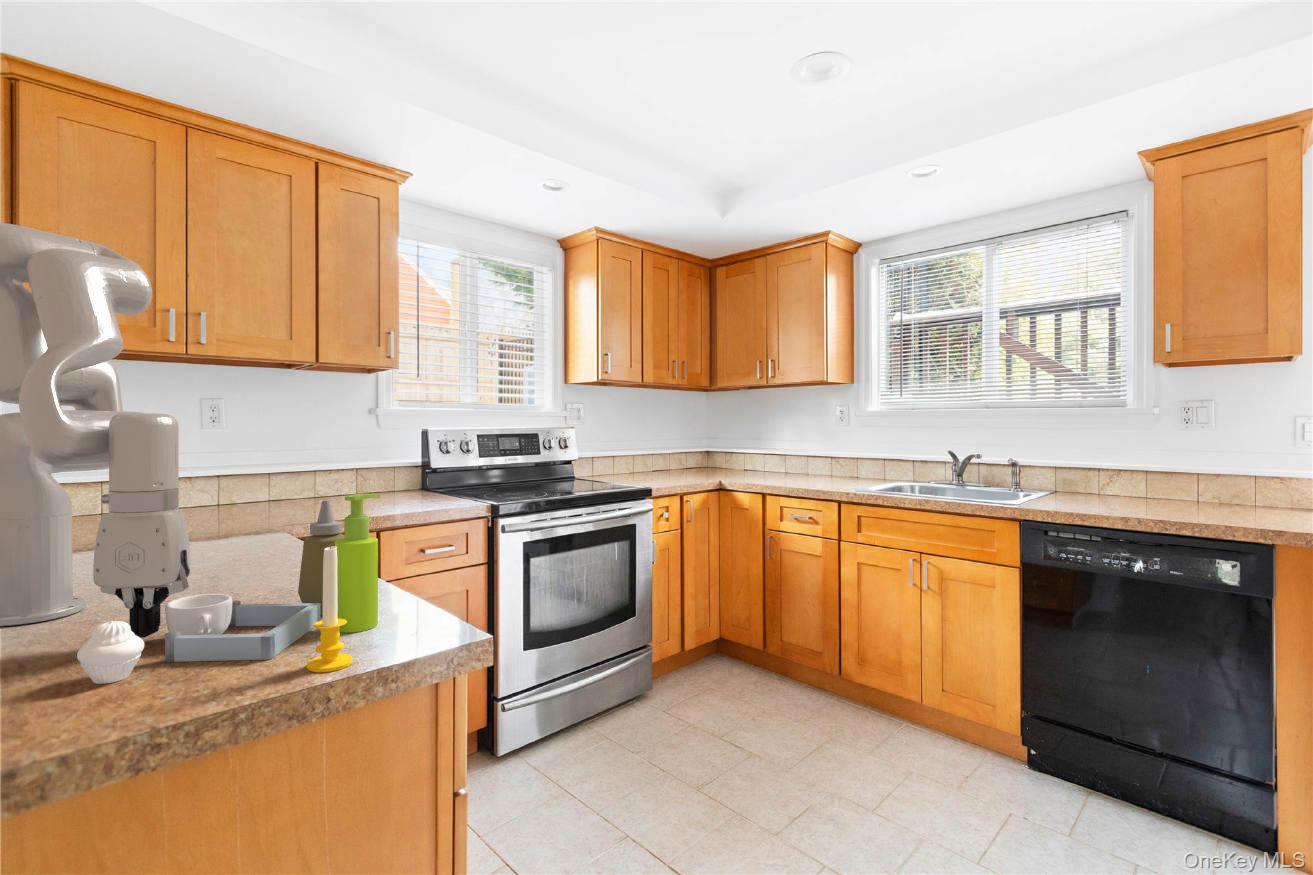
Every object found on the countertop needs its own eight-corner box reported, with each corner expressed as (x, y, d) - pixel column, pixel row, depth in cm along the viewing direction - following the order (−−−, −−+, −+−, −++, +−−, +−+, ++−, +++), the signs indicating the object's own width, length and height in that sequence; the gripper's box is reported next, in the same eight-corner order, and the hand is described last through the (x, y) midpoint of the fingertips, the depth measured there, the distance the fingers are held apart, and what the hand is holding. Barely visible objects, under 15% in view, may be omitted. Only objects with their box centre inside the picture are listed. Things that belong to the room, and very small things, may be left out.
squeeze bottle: (363, 604, 108) (363, 498, 108) (334, 619, 100) (334, 504, 100) (318, 602, 109) (318, 497, 109) (286, 617, 101) (286, 503, 101)
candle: (323, 675, 78) (323, 548, 78) (297, 667, 81) (298, 544, 80) (361, 662, 83) (362, 542, 82) (336, 654, 85) (336, 538, 85)
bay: (162, 662, 82) (162, 635, 82) (231, 623, 97) (231, 600, 97) (269, 660, 83) (269, 633, 83) (321, 622, 99) (321, 599, 99)
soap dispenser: (391, 621, 100) (391, 492, 99) (356, 634, 93) (357, 497, 93) (361, 616, 102) (361, 491, 101) (325, 629, 95) (325, 495, 95)
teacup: (162, 637, 91) (162, 599, 91) (226, 626, 96) (226, 590, 96) (171, 657, 84) (170, 615, 83) (240, 643, 89) (240, 605, 89)
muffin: (125, 687, 74) (125, 627, 74) (63, 691, 73) (63, 630, 73) (155, 667, 80) (155, 611, 80) (98, 670, 79) (98, 614, 79)
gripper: (63, 506, 84) (64, 644, 84) (184, 506, 85) (185, 643, 86) (107, 499, 91) (107, 626, 92) (218, 499, 93) (218, 625, 93)
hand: (145, 634), depth 89 cm, fingers closed
